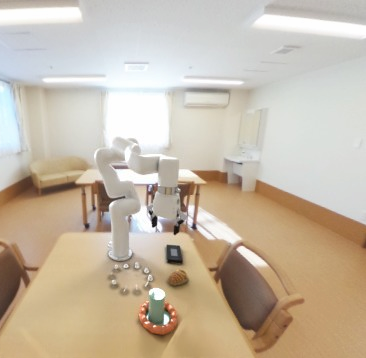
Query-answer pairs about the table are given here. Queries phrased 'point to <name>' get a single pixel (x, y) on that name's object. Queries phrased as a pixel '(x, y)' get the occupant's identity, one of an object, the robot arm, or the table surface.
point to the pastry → (178, 277)
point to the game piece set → (137, 268)
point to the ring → (157, 328)
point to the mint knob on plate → (157, 308)
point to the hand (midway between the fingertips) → (164, 230)
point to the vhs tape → (174, 254)
